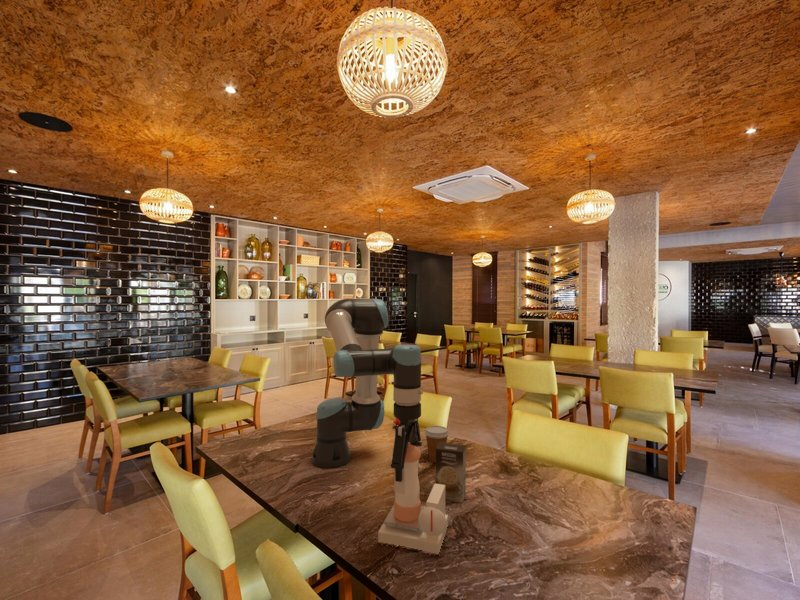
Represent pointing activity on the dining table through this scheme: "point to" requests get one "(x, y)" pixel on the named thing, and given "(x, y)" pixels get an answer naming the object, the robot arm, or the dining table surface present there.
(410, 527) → the scale pan
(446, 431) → the disposable coffee cup
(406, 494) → the salt shaker
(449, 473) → the coffee box
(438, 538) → the scale base
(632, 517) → the dining table surface
